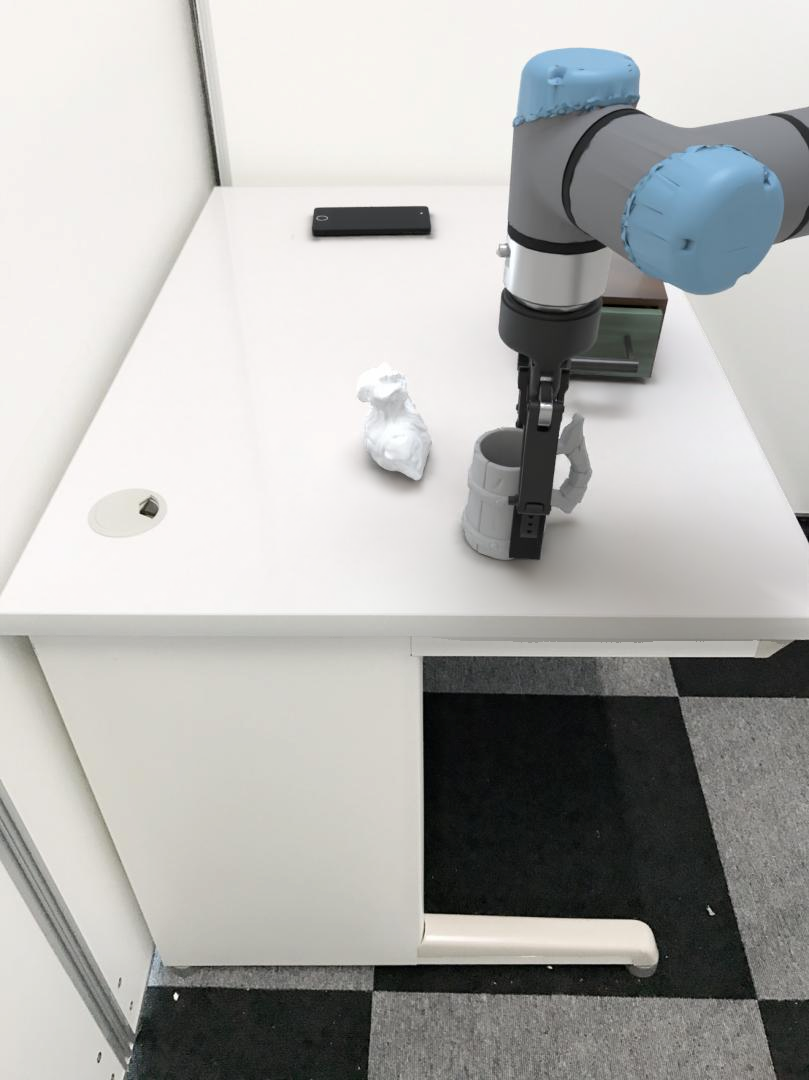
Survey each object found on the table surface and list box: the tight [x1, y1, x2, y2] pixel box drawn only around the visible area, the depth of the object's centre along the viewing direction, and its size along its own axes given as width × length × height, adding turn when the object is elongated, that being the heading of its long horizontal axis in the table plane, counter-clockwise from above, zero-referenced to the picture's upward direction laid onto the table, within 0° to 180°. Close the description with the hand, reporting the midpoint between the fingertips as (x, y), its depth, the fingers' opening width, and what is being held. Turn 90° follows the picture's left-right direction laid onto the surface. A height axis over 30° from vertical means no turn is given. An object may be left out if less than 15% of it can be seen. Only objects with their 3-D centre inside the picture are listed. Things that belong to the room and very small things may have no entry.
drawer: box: [567, 304, 663, 378], centre depth 97 cm, size 21×13×8 cm, turn 174°
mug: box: [461, 412, 593, 561], centre depth 75 cm, size 8×12×12 cm, turn 107°
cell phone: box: [311, 205, 432, 236], centre depth 131 cm, size 9×18×1 cm, turn 92°
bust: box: [355, 362, 433, 481], centre depth 84 cm, size 12×8×11 cm
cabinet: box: [601, 250, 669, 378], centre depth 102 cm, size 16×14×10 cm
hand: (523, 523), depth 78 cm, fingers open, 8 cm apart
